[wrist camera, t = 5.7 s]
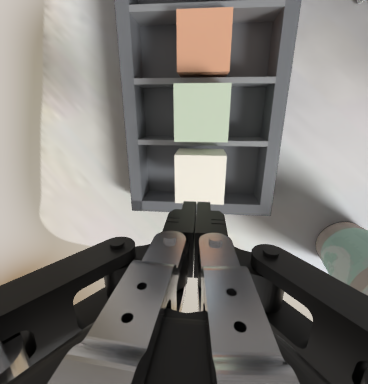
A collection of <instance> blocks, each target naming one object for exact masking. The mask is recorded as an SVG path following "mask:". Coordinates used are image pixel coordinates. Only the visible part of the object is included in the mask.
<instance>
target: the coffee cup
mask: <svg viewBox="0 0 368 384" xmlns="http://www.w3.org/2000/svg"><path fill="white" fill-rule="evenodd" d="M316 251H317V253H318V255H319V256H320V258H321V260H322V262H323V264H324V266H325V267H326V269H327V271H328V273H329V275H331V276H333V277H335V278H336V279H338V280H340V281H342V282H344V283H346V284H347V285H349V286H351V287H353V288H355V289H357V290H358V291H360V292H362V293H364V294H366V295H368V231H367V230H365V229H364V228H362V227H360V226H358V225H356V224H354V223H350V222H340V223H335V224H333V225H330V226H329V227H327V228H325V229H324V230H323V231H322V232H321V233H320V234H319V236H318V238H317V240H316Z"/></svg>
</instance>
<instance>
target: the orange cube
mask: <svg viewBox="0 0 368 384" xmlns="http://www.w3.org/2000/svg"><path fill="white" fill-rule="evenodd" d="M232 24H233V7H217V8H190V9H176V25H177V73H178V74H179V76H180V77H181V78H207V77H226V76H227V75H228V73H229V72H230V56H231V40H232Z"/></svg>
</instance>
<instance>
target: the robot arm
mask: <svg viewBox="0 0 368 384" xmlns="http://www.w3.org/2000/svg"><path fill="white" fill-rule="evenodd" d="M193 264H194V278H198V310H199V312H193V313H182V312H181V310H182V306H183V301H184V296H185V291H186V284H187V278H188V277H193ZM103 277H104V280H105V288H103V289H101V290H99V291H98V292H96V293H94V294H93V295H91V296H89V297H87V298H86V299H84V300H82V301H80V302H79V303H77V304H75V305H74V306H73V299H74V296H75V295H76V293H77V292H78V291H80V290H81V289H83V288H85V287H87V286H88V285H90V284H92V283H94V282H96V281H98V280H99V279H101V278H103ZM284 292H286V293H287V294H289V295H290V296H292V297H293V298H294V299H296V300H297V301H299V302H300V303H301V304H303V305H304V306H305V307H307V308H308V310H309V311H310V312H311V314H312V316H313V322H312V321H311V320H309V319H308V318H306V317H305V316H304V315H303V314H301V313H300V312H299V311H297V310H296V309H294V308H293V307H292V306H290V305H289V304H288V303H286V302H285V301H284V300H283V294H284ZM0 384H368V295H366V294H364V293H362V292H360V291H358V290H357V289H355V288H353V287H351V286H349V285H347V284H346V283H344V282H342V281H340V280H338V279H336V278H335V277H333V276H331V275H329V274H327V273H325V272H324V271H322V270H320V269H318V268H316V267H314V266H313V265H311V264H309V263H307V262H305V261H303V260H302V259H300V258H298V257H296V256H294V255H292V254H291V253H289V252H287V251H285V250H283V249H281V248H279V247H277V246H274V245H268V244H261V245H257V246H255V247H254V248H253V249H252V252H248V251H244V250H241V249H238V248H236V247H234V246H233V243H232V240H231V239H230V238H229V237H228V234H227V228H226V223H225V217H224V214H222V213H221V212H220V211H212V210H211V206H210V202H197V214H196V202H194V201H184V202H183V206H182V209H174V210H172V211H171V212H170V213H169V214H168V217H167V220H166V223H165V226H164V228H163V231H162V232H161V233H158V234H157V235H156V236H155V237H154V239H153V240H152V242H151V244H149V245H144V246H137V247H135V242H134V241H133V240H132V239H131V238H128V237H115V238H111V239H109V240H106V241H104V242H102V243H99V244H97V245H95V246H92V247H90V248H88V249H85V250H83V251H80V252H78V253H76V254H73V255H72V256H69V257H66V258H65V259H62V260H59V261H57V262H55V263H53V264H50V265H48V266H45V267H43V268H41V269H38V270H36V271H34V272H32V273H29V274H27V275H25V276H22V277H20V278H18V279H15V280H13V281H10V282H8V283H6V284H3V285H1V286H0Z"/></svg>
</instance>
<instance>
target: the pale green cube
mask: <svg viewBox="0 0 368 384" xmlns="http://www.w3.org/2000/svg"><path fill="white" fill-rule="evenodd" d="M231 86H232V83H173V96H174V142H228V132H229V117H230V101H231Z"/></svg>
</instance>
